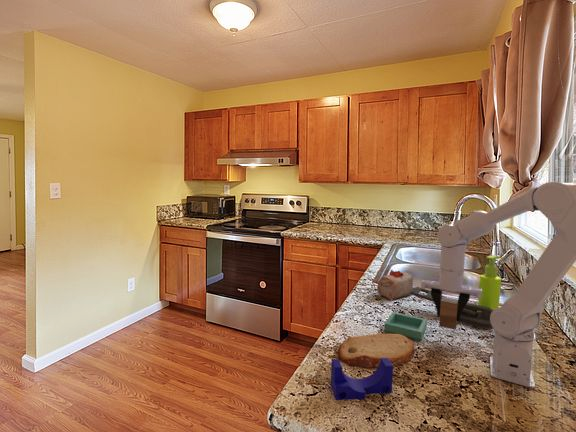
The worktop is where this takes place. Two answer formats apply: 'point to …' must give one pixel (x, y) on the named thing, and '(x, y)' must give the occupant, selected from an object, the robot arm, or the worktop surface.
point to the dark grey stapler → (464, 311)
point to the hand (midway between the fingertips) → (448, 318)
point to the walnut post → (448, 313)
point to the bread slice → (375, 350)
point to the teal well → (406, 326)
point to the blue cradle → (361, 381)
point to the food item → (395, 285)
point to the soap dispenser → (490, 285)
